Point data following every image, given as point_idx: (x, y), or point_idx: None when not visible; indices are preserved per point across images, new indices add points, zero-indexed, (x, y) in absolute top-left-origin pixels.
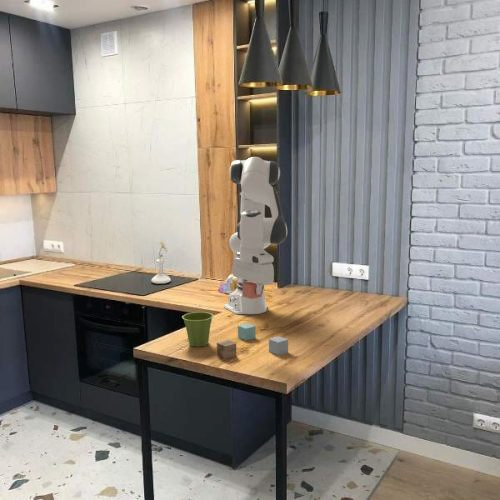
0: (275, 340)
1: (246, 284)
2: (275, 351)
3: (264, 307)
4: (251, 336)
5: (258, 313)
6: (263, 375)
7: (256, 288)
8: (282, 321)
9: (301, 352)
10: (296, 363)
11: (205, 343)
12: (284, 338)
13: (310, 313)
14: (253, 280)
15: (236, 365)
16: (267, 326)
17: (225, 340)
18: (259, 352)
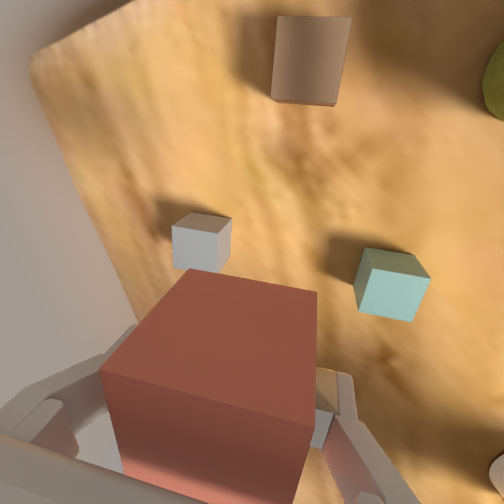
0: (191, 235)
1: (205, 395)
2: (198, 216)
3: (501, 492)
4: (359, 275)
5: (501, 457)
6: (91, 46)
7: (99, 366)
8: (380, 428)
9: (170, 270)
10: (118, 199)
11: (486, 76)
12: (188, 268)
13: None
14: (12, 470)
15: (209, 30)
16: (392, 381)
17: (338, 84)
18: (247, 192)
